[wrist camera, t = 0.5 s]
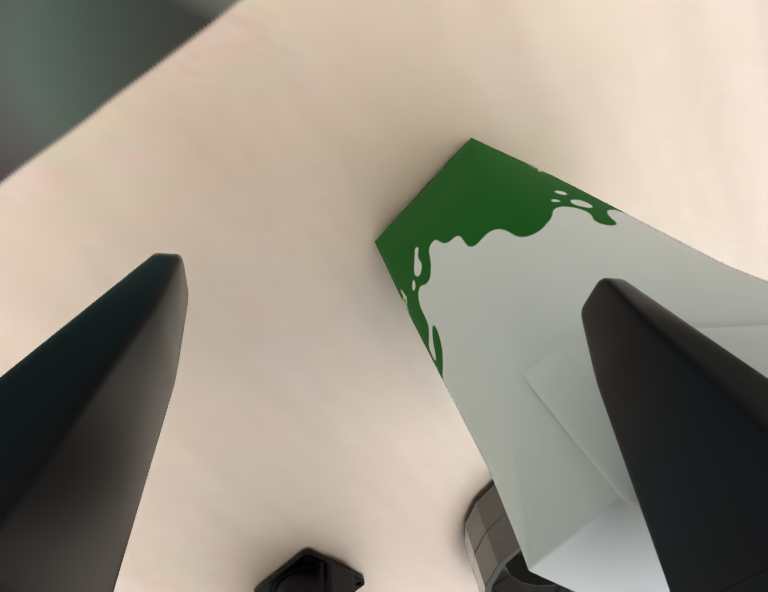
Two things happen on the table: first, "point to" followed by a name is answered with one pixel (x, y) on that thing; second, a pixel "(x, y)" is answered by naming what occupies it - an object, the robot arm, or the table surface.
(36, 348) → the robot arm
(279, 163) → the table surface
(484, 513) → the bowl
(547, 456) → the milk carton
